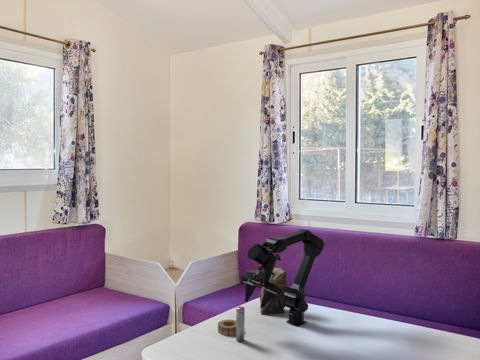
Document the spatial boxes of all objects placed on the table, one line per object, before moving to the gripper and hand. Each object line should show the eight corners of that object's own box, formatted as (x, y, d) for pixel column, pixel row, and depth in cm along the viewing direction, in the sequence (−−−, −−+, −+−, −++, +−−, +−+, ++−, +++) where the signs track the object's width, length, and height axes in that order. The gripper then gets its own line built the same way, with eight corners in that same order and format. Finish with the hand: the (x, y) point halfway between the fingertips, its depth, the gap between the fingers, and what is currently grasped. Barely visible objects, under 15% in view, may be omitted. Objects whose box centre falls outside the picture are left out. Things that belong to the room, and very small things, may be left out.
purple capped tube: (240, 338, 168) (240, 305, 167) (245, 340, 166) (246, 307, 165) (234, 340, 166) (234, 307, 165) (239, 342, 164) (240, 309, 163)
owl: (259, 305, 207) (260, 264, 206) (285, 305, 206) (286, 265, 205) (260, 314, 194) (260, 271, 193) (287, 315, 193) (288, 272, 193)
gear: (229, 324, 181) (229, 318, 181) (244, 331, 175) (244, 324, 175) (213, 330, 175) (213, 323, 175) (227, 337, 169) (228, 329, 169)
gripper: (238, 256, 174) (224, 293, 170) (270, 265, 160) (255, 306, 156) (256, 265, 181) (243, 300, 177) (288, 274, 166) (274, 313, 163)
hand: (253, 304), depth 168 cm, fingers open, 9 cm apart
